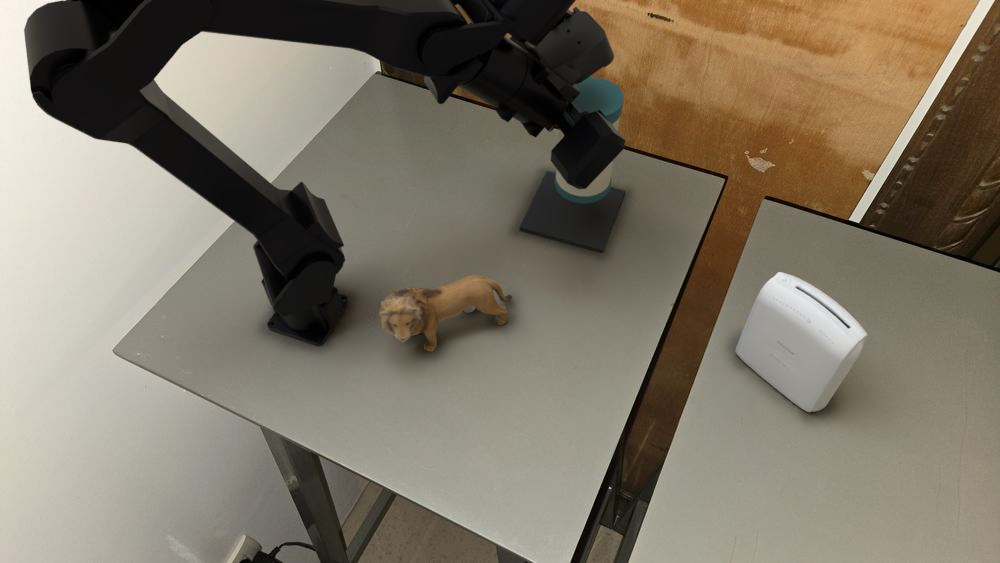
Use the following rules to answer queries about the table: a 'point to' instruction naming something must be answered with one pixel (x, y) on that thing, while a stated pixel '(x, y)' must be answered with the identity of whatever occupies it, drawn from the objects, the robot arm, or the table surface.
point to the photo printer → (800, 341)
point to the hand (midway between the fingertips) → (598, 134)
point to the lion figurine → (439, 307)
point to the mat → (571, 216)
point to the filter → (610, 103)
